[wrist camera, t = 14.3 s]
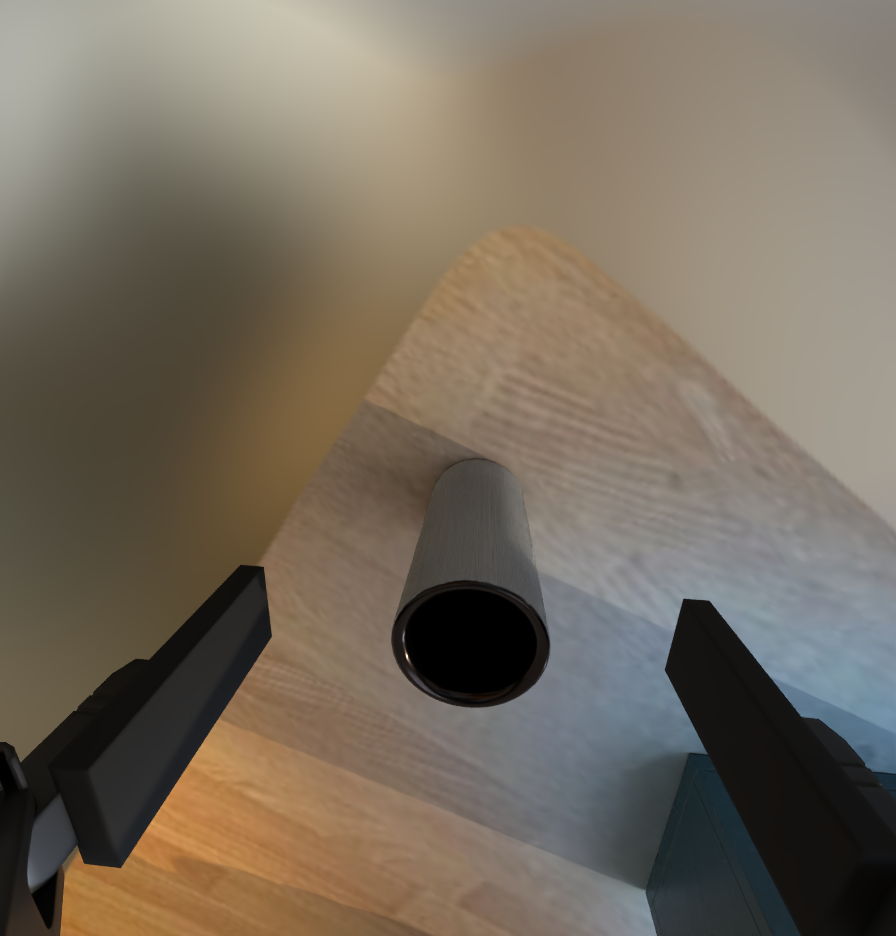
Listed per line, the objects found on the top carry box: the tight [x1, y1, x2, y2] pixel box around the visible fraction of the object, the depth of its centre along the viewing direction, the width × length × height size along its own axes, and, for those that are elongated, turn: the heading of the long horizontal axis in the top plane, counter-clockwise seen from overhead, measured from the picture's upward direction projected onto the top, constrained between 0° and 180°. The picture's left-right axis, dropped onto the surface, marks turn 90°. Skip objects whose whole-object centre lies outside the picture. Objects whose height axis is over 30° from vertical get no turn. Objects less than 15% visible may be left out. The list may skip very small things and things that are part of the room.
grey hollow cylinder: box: [391, 459, 550, 708], centre depth 17 cm, size 4×4×10 cm
